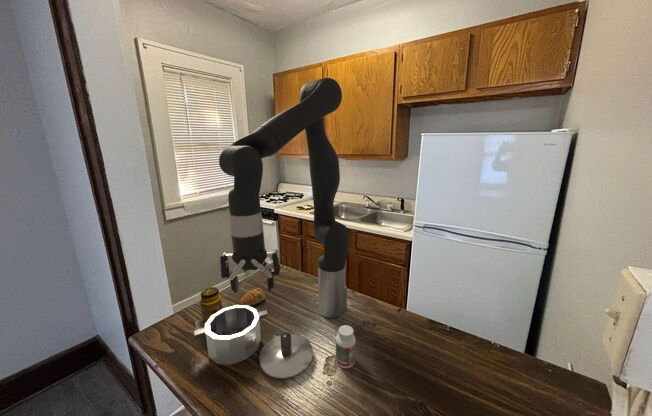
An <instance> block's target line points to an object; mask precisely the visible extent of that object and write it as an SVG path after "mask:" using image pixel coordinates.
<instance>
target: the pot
mask: <svg viewBox="0 0 652 416" xmlns="http://www.w3.org/2000/svg"><path fill="white" fill-rule="evenodd" d="M267 318H269V314H268V311H267V310H262V311H258V310H257V309H256V308H254V307H252V306H246V305H239V304H235V305H232V306H228V307H224V308H222V310H220V311H218V312H217V313H215V314H213V315H212V316H211V317H210V318H209V320H208V321H207V322H206V324H205V328H202V329H199V330H197V329H196V330H194V331H193V332H194V339H195V340H196V339H200V338H203V337H205V340H206V346H207V355H208V359H210V360H211V361H213V362H214V363H215V364H216V365H228V366H229V365H231V366H232V365H234V364H237V363H240V362H242V361H246V360H247V359H248V358H250V357H251V356H252V355H253V354H254V353H255V352H256V351H258V348H259V346H260V343H261V341H262V337H261V336H262V335H261V334H262V333H261V320H264V319H267Z"/></svg>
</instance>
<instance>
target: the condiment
mask: <svg viewBox="0 0 652 416" xmlns="http://www.w3.org/2000/svg"><path fill="white" fill-rule="evenodd" d="M219 291H220V290H219V288H218V287H215V286H211V287H206V288H205V289H202V291H201V292H200V299H201V300H200V303H199V305H200V309H201V318H202V319H199V320H195V321H194V322H195V323H194V324H195V329H196V330H199V329H202V328H205V324H206V322H207V321H208V320H209V318H210V317H211V316H212V315H213V314H215V313H217V312H218V311H220V310H222V309H223V308H222V307H223V305H222V299H221V298H222V297H221V294H220V292H219Z"/></svg>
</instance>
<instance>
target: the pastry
mask: <svg viewBox="0 0 652 416" xmlns="http://www.w3.org/2000/svg"><path fill="white" fill-rule="evenodd" d="M265 299H266V295H265V293H264V290H262V289H261V288H260V287H256V288H254V289H252V290H250V291H248V292H246V293H245V294H244V295H243V296H242V297H240V299H239V301H238V305H246V306H250V307H252V306H255V305H256V304H258V303H261V302H263V301H264V300H265Z"/></svg>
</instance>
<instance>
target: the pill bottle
mask: <svg viewBox="0 0 652 416" xmlns="http://www.w3.org/2000/svg"><path fill="white" fill-rule="evenodd" d="M354 332H355V331H354V328H353V327H352V326H351V325H345V324H344V325H341V326H340V327H338V333H337V334H336V336H335V354H334V355H335V362H336V365H337V366H338V367H339V368H342V369H350V368H353V366H354V365H355V362H356V348H357V347H356V343H357V340H356V336H355V335H354Z"/></svg>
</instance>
